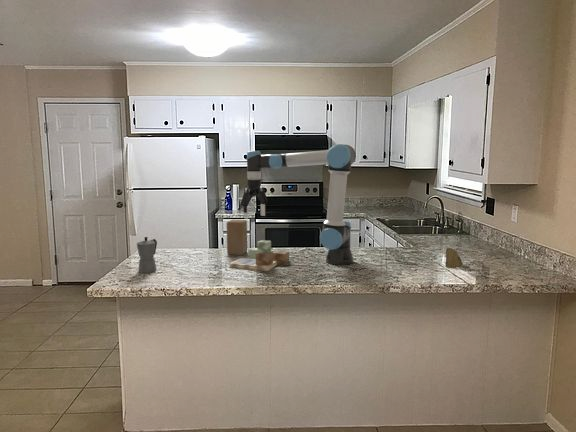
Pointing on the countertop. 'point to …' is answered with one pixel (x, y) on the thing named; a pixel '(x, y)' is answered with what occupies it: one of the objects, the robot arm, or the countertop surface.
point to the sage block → (252, 253)
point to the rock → (452, 258)
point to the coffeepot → (147, 255)
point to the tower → (264, 253)
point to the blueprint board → (251, 264)
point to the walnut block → (281, 257)
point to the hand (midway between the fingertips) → (254, 217)
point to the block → (236, 237)
